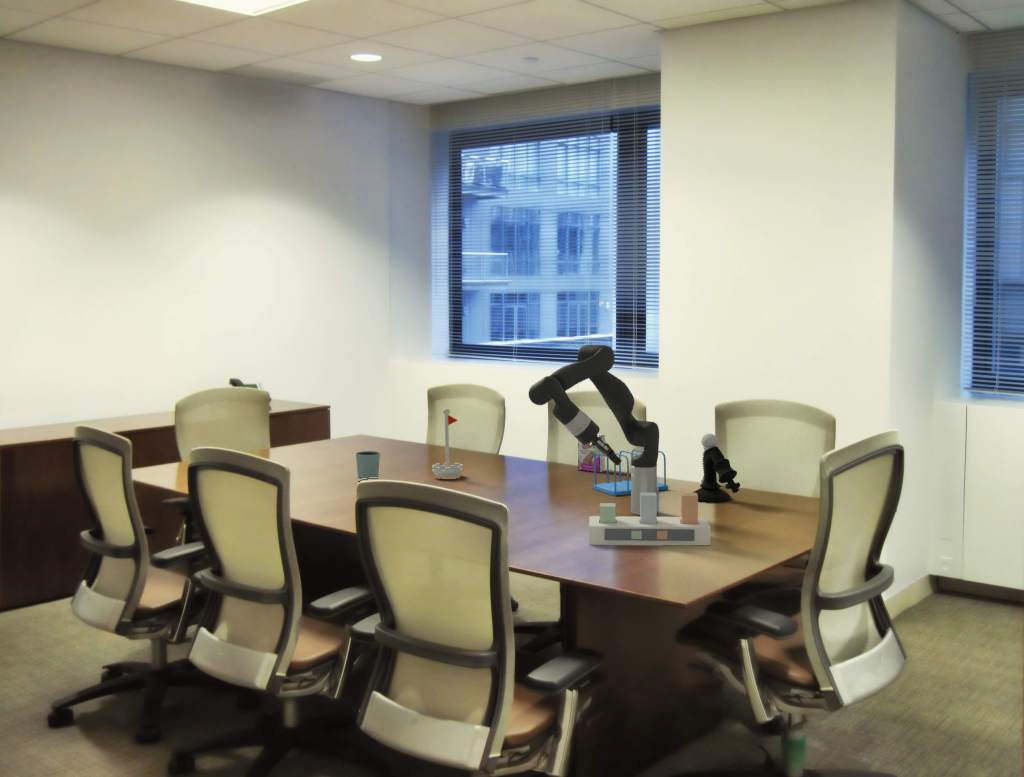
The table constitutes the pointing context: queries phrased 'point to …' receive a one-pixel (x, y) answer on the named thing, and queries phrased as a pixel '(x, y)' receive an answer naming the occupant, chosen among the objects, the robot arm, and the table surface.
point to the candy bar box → (590, 457)
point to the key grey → (648, 508)
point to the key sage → (607, 512)
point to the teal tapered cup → (367, 464)
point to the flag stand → (447, 453)
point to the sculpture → (711, 465)
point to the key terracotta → (689, 508)
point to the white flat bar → (648, 532)
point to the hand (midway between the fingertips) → (619, 463)
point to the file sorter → (620, 486)
